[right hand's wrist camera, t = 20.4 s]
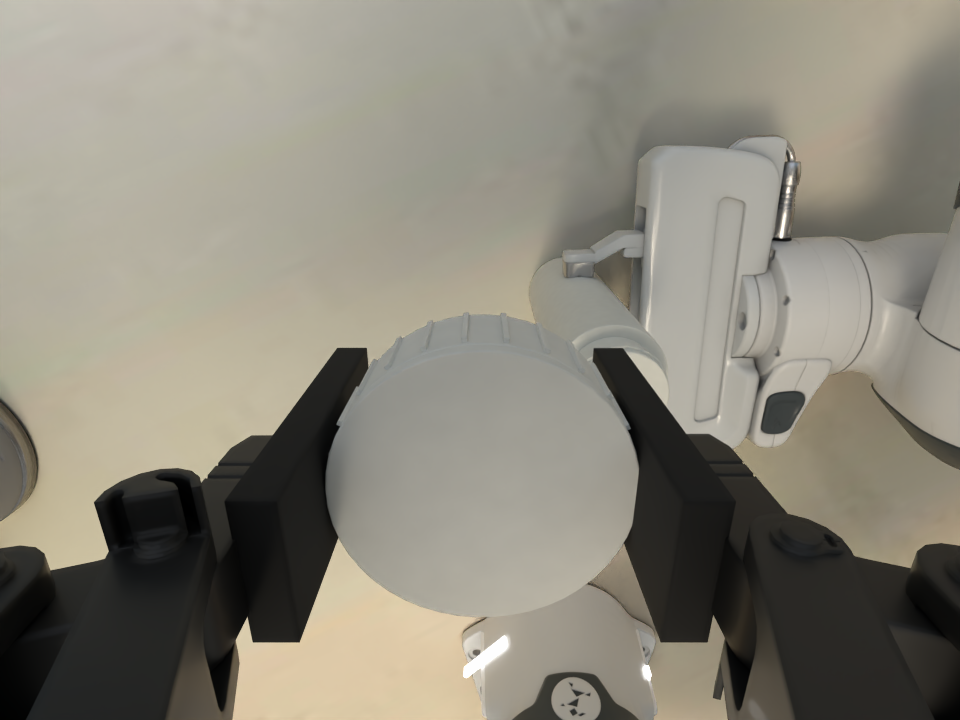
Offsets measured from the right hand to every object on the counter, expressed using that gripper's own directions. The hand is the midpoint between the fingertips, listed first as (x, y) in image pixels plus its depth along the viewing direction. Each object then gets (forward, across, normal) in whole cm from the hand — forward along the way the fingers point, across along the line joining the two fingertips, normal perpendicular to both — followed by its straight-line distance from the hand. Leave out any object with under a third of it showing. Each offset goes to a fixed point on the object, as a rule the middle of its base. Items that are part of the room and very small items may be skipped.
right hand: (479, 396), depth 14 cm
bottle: (+27, +6, -4) cm, 28 cm away
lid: (-4, 0, 0) cm, 4 cm away
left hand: (+21, +5, -4) cm, 22 cm away
